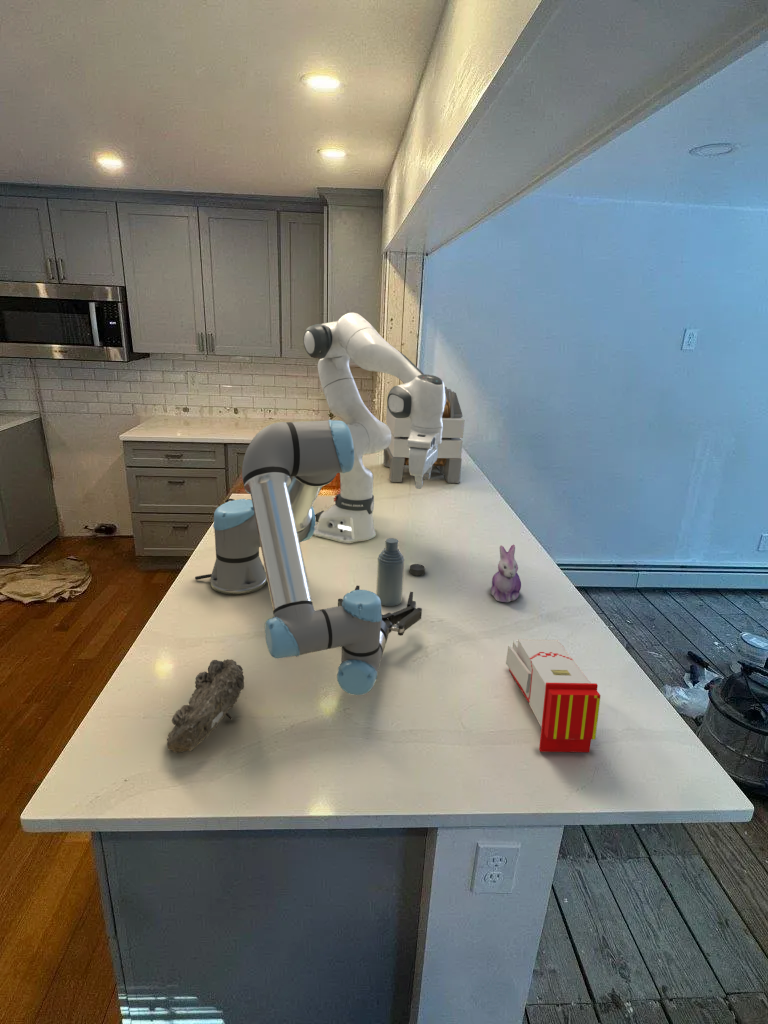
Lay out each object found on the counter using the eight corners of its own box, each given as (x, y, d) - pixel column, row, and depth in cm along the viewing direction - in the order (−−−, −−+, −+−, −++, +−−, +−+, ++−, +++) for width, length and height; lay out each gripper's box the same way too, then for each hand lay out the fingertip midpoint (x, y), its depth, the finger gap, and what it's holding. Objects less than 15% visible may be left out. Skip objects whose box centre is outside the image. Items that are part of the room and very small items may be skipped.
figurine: (503, 606, 153) (510, 556, 148) (480, 590, 162) (486, 542, 156) (530, 600, 157) (537, 550, 152) (507, 584, 166) (513, 537, 161)
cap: (427, 572, 172) (427, 566, 171) (418, 577, 168) (419, 571, 167) (415, 568, 174) (415, 562, 173) (406, 572, 171) (406, 567, 170)
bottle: (401, 606, 151) (405, 546, 145) (375, 605, 151) (377, 545, 145) (401, 594, 158) (405, 535, 152) (376, 592, 158) (378, 534, 152)
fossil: (192, 660, 117) (244, 628, 112) (224, 691, 120) (276, 661, 115) (142, 746, 98) (202, 712, 93) (182, 779, 101) (242, 748, 96)
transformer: (382, 463, 289) (386, 382, 275) (445, 464, 293) (451, 384, 279) (390, 482, 257) (394, 392, 243) (460, 483, 261) (468, 394, 247)
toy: (554, 622, 128) (610, 691, 98) (548, 677, 130) (601, 759, 101) (501, 621, 127) (541, 690, 98) (496, 676, 130) (534, 758, 101)
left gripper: (313, 646, 126) (335, 600, 145) (425, 661, 122) (432, 612, 142) (313, 617, 123) (336, 574, 143) (427, 631, 120) (435, 585, 139)
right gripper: (423, 427, 167) (420, 473, 172) (405, 441, 149) (402, 491, 153) (444, 429, 165) (441, 475, 170) (429, 444, 147) (425, 494, 152)
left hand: (384, 593), depth 142 cm, fingers open, 13 cm apart
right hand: (422, 483), depth 161 cm, fingers open, 8 cm apart
